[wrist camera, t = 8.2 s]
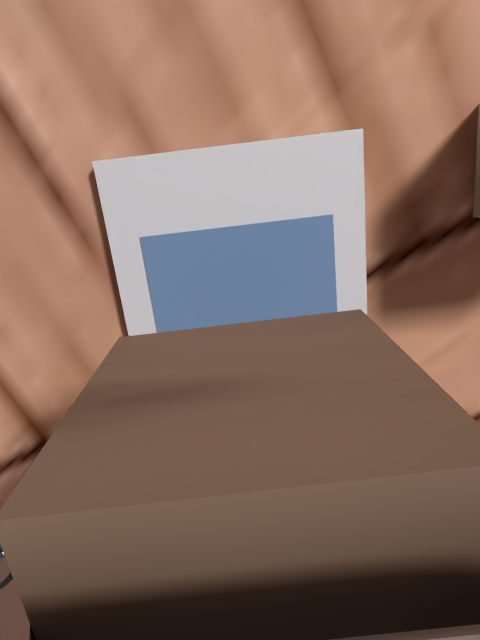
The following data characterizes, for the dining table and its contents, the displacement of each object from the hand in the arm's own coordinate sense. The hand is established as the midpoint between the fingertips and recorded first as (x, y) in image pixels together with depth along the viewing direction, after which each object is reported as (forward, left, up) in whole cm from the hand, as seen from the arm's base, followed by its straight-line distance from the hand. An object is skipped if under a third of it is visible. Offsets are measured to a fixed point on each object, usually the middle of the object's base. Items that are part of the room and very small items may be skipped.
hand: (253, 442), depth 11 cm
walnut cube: (0, 0, -1) cm, 1 cm away
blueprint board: (0, 0, -12) cm, 12 cm away
